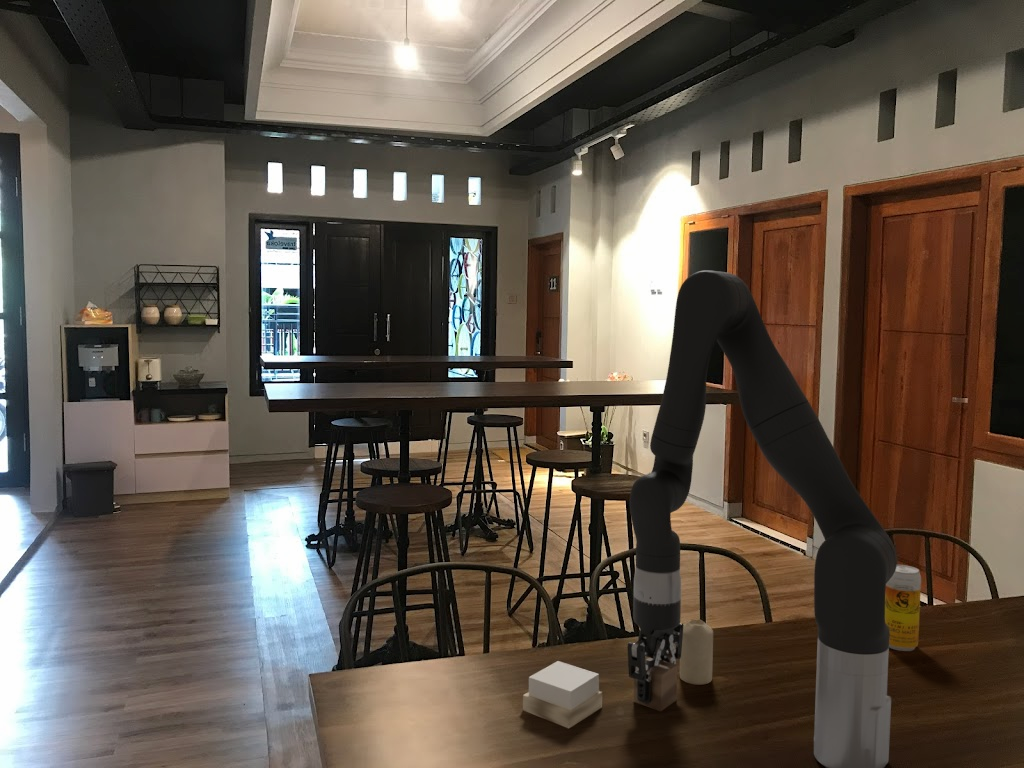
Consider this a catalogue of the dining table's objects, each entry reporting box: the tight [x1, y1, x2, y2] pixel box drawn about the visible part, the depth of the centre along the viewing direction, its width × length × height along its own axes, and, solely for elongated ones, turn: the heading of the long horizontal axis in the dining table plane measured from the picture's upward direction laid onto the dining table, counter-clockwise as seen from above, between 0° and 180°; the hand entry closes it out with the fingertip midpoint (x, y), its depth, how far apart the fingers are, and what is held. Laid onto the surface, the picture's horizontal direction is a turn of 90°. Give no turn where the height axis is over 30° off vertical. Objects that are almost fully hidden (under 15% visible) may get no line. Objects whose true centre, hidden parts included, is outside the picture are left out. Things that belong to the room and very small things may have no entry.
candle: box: [679, 618, 714, 686], centre depth 143 cm, size 6×6×10 cm
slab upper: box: [528, 660, 600, 711], centre depth 132 cm, size 8×8×3 cm
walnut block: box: [633, 657, 678, 712], centre depth 135 cm, size 5×5×6 cm
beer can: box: [885, 564, 922, 652], centre depth 157 cm, size 6×6×15 cm
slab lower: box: [522, 690, 603, 729], centre depth 133 cm, size 9×9×3 cm
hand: (655, 694), depth 135 cm, fingers open, 6 cm apart
